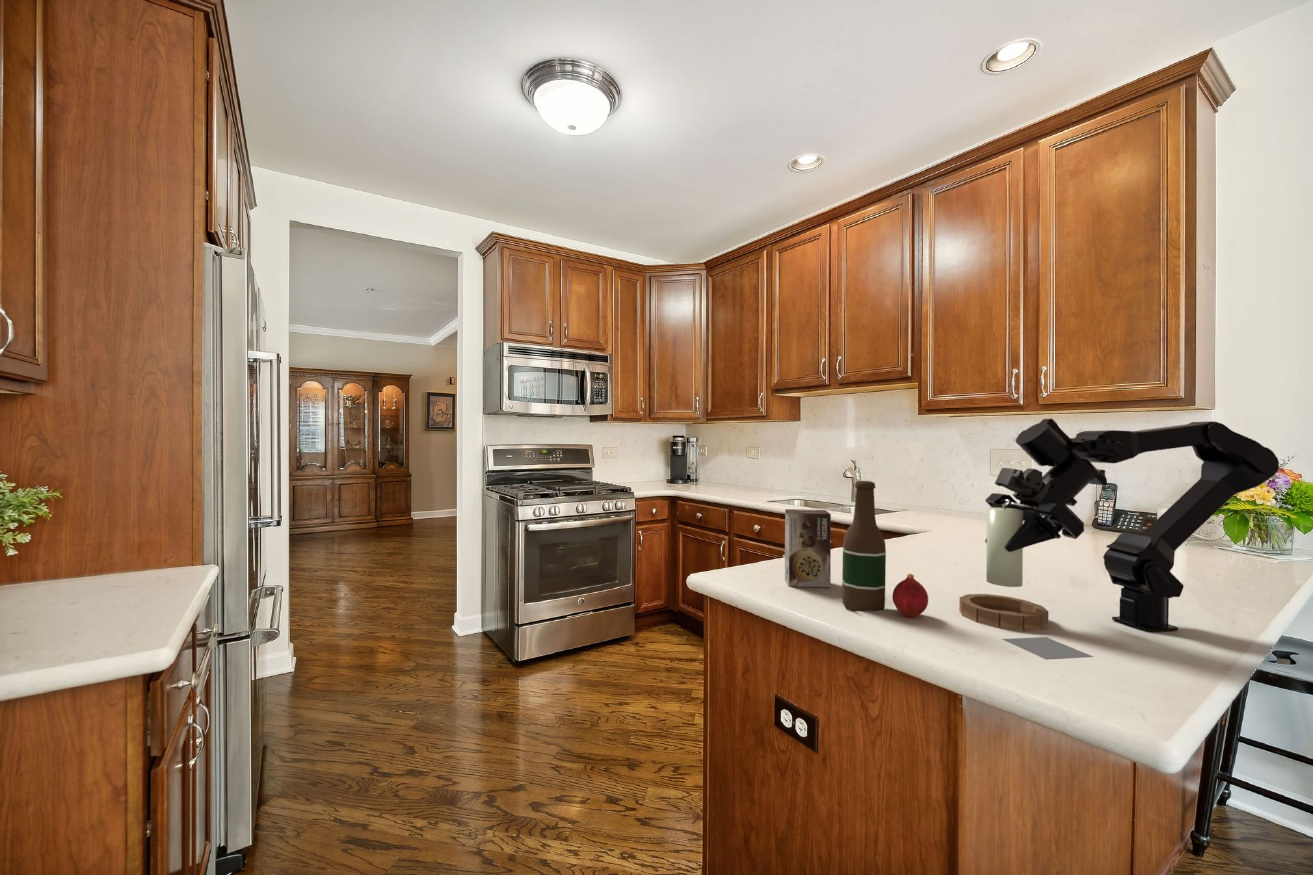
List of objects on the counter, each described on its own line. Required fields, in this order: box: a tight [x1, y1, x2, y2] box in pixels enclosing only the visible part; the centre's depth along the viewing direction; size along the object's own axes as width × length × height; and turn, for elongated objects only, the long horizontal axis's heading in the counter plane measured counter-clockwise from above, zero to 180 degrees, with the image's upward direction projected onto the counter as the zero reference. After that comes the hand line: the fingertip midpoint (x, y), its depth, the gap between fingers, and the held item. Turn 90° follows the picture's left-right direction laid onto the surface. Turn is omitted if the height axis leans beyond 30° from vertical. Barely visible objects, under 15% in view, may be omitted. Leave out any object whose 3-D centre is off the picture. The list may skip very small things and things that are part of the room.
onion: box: [892, 573, 929, 618], centre depth 98 cm, size 6×6×8 cm
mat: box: [1002, 636, 1094, 660], centre depth 84 cm, size 8×8×1 cm
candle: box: [985, 505, 1024, 588], centre depth 97 cm, size 5×5×14 cm
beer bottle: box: [841, 480, 887, 612], centre depth 104 cm, size 8×8×24 cm
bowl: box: [958, 593, 1049, 632], centre depth 98 cm, size 13×13×3 cm
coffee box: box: [784, 508, 832, 588], centre depth 121 cm, size 9×6×16 cm
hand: (996, 546), depth 97 cm, fingers closed on candle, 5 cm apart
